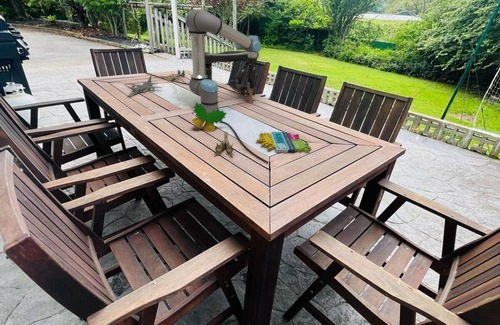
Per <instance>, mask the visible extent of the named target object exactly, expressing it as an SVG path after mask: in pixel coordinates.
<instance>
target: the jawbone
mask: <svg viewBox="0 0 500 325" xmlns="http://www.w3.org/2000/svg"><path fill="white" fill-rule="evenodd" d="M223 135H224V136H223V140H222V139H221V142H220V144H218V142H215V144H216V146H215V148H214V149H215V152H214V154H215V155H217V156H218V155H220V153H221V152H223V151H224V150H226V152H227V153H228V155H229V156H233V155H234V154H233V153H234V148H233V144H234V143H230V140H228V139H229V138H228V137H229V136H228V135H229V133H228V131H226V132H224V134H223Z"/></svg>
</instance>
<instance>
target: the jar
mask: <svg viewBox="0 0 500 325" xmlns="http://www.w3.org/2000/svg"><path fill="white" fill-rule="evenodd" d="M247 88H248V91H247V93H249V96H247V95H246V103H250V104H251V103H253V98H254V96H253V90H254V87H253V88H250V85H248V84H247Z"/></svg>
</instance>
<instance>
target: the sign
mask: <svg viewBox="0 0 500 325" xmlns="http://www.w3.org/2000/svg"><path fill="white" fill-rule="evenodd" d="M299 136H300V135H299V134H298V133H296V134H294V133H291V132H287V131H270V132H264V133H263V132H260V133H259V139H258V138H257V139H256V143H257V144H261V148H263V147H264V148H265V149H267V151H268V152H271V151H272V150H273V149H275V152H276V153H283V154H285V153H287V154H288V153H290V154H293V153H296V152H298V153H301V152H305V153H310V151H311V150H312V149H311V148H312V146H309V142H304V141H303V139H302V138H299Z"/></svg>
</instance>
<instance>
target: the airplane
mask: <svg viewBox="0 0 500 325" xmlns="http://www.w3.org/2000/svg"><path fill="white" fill-rule="evenodd" d="M152 76H153V75H150V76H149V78H148V79H147V82H146V81H142V84H136V83H135V84H134V83H128V85H130V86H131V87H130V89H132V90H131V91H130V92H129V93H128V95H127V96H126V98H128V97H133V96H135V95H137V94H139V93H146V92H147V91H148V92H149V90H150V91H153V90H155V89H157V88H159V89H162V88H163V86H155V85H159V82H158V83H157V82H153V81H152Z"/></svg>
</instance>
